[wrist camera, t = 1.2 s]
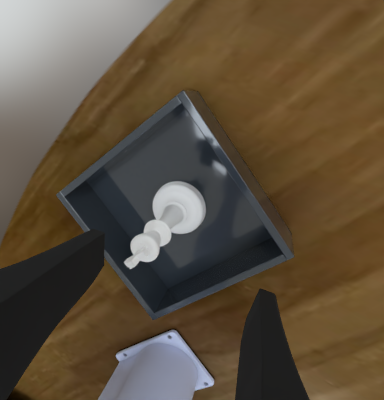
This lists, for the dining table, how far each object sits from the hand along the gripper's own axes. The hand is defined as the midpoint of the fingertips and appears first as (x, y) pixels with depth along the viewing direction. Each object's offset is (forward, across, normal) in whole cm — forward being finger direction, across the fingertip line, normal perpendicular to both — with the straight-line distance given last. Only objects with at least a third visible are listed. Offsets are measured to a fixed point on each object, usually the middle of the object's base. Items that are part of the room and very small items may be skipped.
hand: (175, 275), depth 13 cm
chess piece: (+13, +3, +5) cm, 14 cm away
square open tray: (+13, +3, +5) cm, 14 cm away
